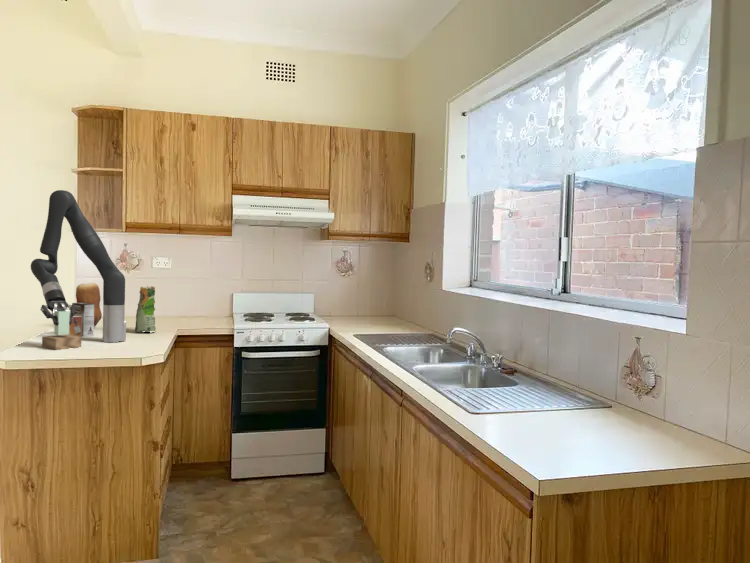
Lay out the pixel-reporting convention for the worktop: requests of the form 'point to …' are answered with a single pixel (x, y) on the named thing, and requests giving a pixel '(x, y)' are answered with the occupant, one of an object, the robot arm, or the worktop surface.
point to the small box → (76, 326)
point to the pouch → (146, 310)
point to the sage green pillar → (62, 323)
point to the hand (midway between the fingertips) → (63, 324)
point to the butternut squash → (90, 298)
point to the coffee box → (85, 317)
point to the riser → (61, 342)
